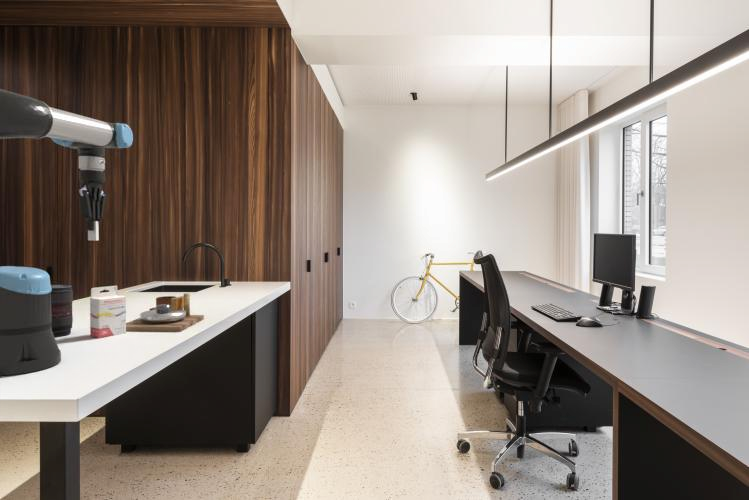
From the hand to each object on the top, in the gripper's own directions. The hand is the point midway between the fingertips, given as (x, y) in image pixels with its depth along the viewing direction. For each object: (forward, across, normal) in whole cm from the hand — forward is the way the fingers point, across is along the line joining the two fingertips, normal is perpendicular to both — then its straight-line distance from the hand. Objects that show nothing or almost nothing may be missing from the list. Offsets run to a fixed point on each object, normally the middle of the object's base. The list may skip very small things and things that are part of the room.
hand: (93, 240), depth 155 cm
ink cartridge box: (+29, -16, -14) cm, 36 cm away
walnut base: (+28, -1, -24) cm, 37 cm away
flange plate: (+26, +1, -25) cm, 36 cm away
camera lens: (+29, -17, +1) cm, 33 cm away
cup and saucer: (+29, +20, -16) cm, 38 cm away
